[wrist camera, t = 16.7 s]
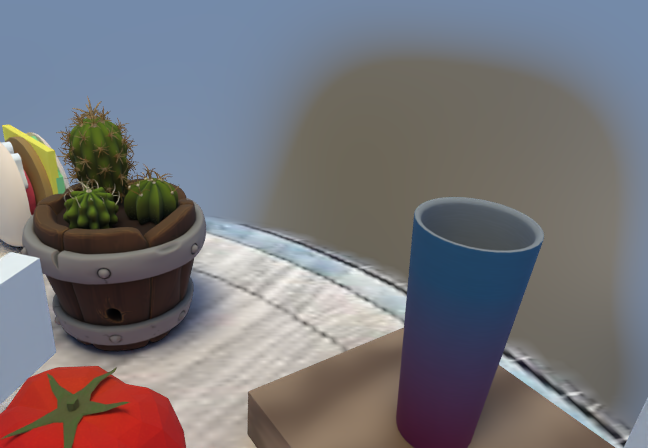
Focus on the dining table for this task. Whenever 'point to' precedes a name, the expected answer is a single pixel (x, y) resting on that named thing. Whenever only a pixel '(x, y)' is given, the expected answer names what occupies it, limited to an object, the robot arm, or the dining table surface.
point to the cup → (459, 313)
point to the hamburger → (25, 180)
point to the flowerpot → (115, 243)
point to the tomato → (88, 413)
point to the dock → (394, 407)
